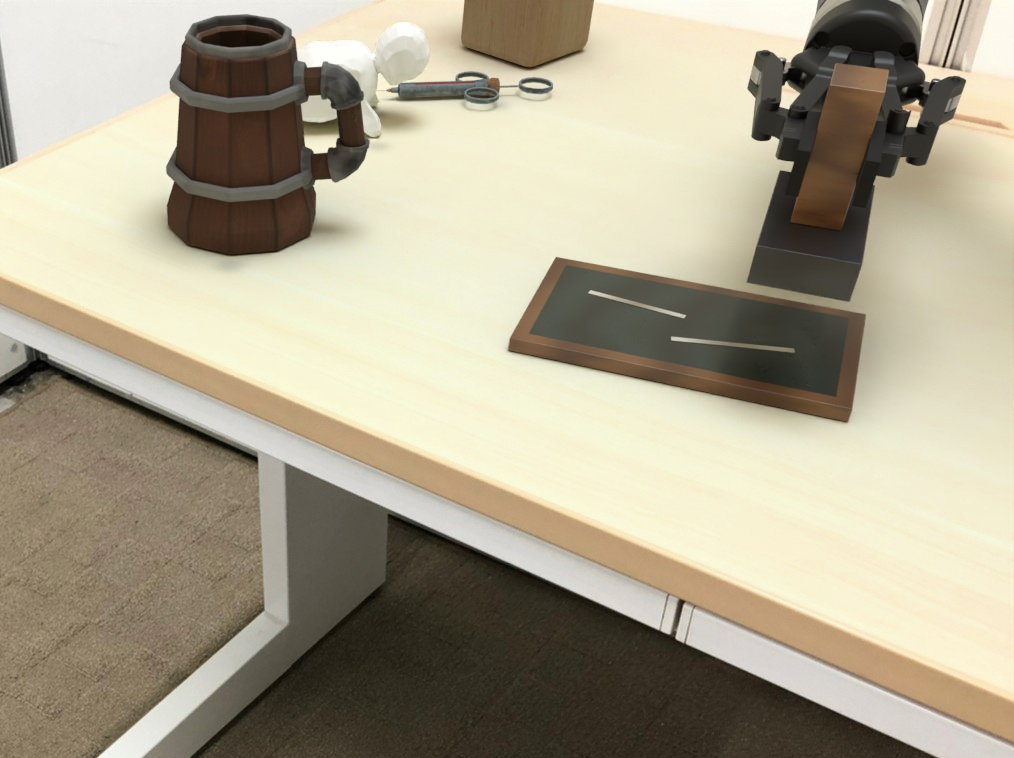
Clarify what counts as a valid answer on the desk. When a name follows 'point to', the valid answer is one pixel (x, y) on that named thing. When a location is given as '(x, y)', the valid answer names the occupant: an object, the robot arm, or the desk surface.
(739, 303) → the chalkboard
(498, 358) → the desk surface
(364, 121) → the white animal figurine
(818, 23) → the robot arm
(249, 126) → the mug
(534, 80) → the syringe
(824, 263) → the eraser
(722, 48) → the desk surface
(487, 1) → the wooden block
